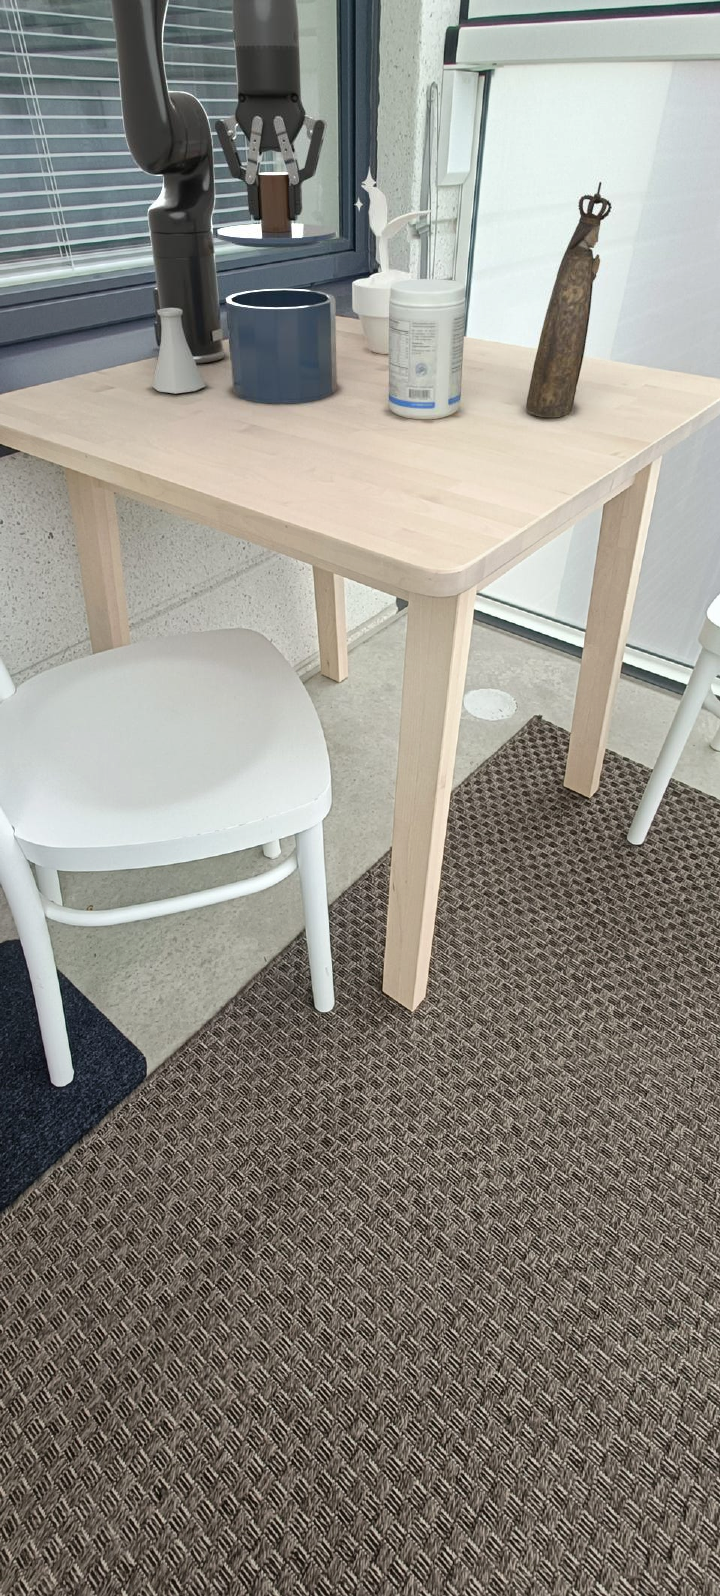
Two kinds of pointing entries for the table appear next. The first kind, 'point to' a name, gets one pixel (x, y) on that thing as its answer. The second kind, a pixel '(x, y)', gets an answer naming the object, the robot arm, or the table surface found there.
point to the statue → (567, 319)
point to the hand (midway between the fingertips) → (275, 219)
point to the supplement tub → (426, 347)
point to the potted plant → (375, 290)
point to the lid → (275, 220)
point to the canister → (282, 345)
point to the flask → (175, 357)
